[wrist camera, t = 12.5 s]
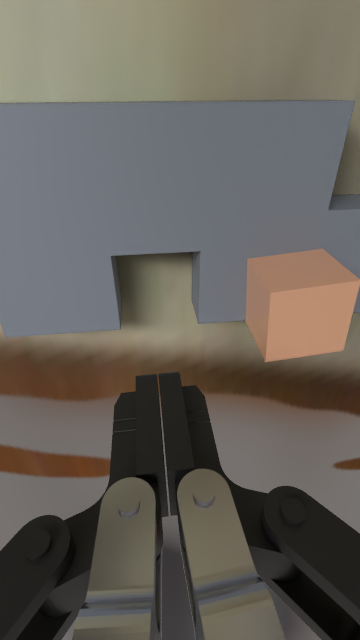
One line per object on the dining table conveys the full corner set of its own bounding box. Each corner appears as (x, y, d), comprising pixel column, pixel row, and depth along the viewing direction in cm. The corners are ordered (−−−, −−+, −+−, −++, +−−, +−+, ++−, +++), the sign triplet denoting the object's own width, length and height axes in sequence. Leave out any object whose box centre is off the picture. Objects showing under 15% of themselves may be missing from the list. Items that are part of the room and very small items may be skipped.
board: (-50, 103, 16) (-110, 106, 12) (538, 97, 19) (644, 99, 15) (19, 311, 23) (-5, 356, 19) (443, 283, 26) (500, 318, 22)
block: (247, 258, 19) (270, 293, 16) (322, 248, 19) (361, 280, 16) (245, 321, 22) (265, 362, 18) (312, 312, 22) (343, 350, 19)
